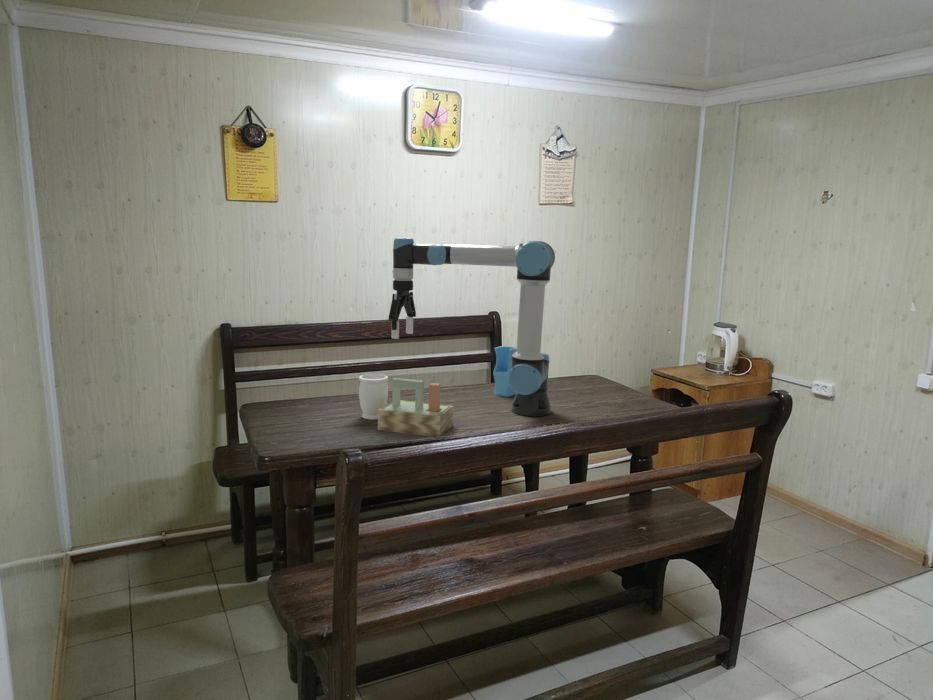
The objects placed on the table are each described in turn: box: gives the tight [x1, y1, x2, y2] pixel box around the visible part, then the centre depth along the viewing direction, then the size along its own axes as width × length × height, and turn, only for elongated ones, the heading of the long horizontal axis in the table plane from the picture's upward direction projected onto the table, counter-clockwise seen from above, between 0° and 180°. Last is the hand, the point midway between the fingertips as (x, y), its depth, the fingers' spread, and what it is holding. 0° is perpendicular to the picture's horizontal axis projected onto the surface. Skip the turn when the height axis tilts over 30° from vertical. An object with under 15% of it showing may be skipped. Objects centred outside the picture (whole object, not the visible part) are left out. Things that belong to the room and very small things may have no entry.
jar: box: [358, 373, 389, 421], centre depth 228 cm, size 11×10×15 cm
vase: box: [492, 345, 517, 398], centre depth 268 cm, size 8×8×20 cm
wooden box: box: [377, 399, 455, 438], centre depth 217 cm, size 22×15×7 cm
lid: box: [383, 377, 450, 416], centre depth 216 cm, size 19×12×10 cm, turn 73°
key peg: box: [428, 382, 441, 412], centre depth 214 cm, size 3×3×15 cm
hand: (402, 336), depth 238 cm, fingers open, 13 cm apart
